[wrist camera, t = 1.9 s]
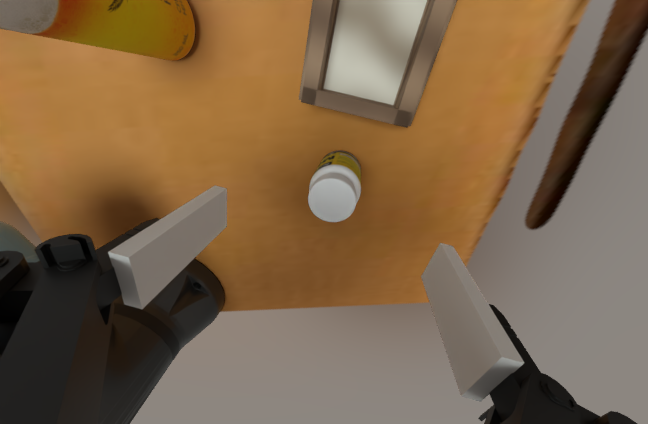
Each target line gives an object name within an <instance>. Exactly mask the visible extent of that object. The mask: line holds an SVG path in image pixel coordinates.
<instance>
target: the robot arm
mask: <svg viewBox="0 0 648 424" xmlns="http://www.w3.org/2000/svg"><path fill="white" fill-rule="evenodd" d="M226 227H227V188H223V187H219V186H213V187H212V188H210V189H208V190H207V191H205V192H204V193H202V194H200V195H199V196H197V197H196V198H194V199H192V200H191V201H189V202H187V203H186V204H184V205H183V206H181V207H179V208H178V209H176V210H175V211H173V212H171V213H170V214H168V215H167V216H165V217H163V218H162V219H158V218H155V219H152V220H149V221H146V222H143V223H141V224H140V225H138V226H136V227H135V228H133V230H132V229H131V230H129V231H128V232H126V233H125V234H124V235H121V236H119V237H118V238H116V239H114V240H112V241H111V242H109V243H107V244H106V245H104V246H102V247H100V248H99V249H97V250H95V248H94V245H93V242H92V239H91V238H90V237H88V236H87V235H82V234H69V235H63V236H58V237H55V238H52V239H49V240H47V241H45V242H43V243H41V244H39V245H38V246H37V247H35V246H34V245H33V244H32V243H31V242H30V241H29V240H28V239H27V238H26V237H25V236H23V235H22V234H21V233H20V232H19V231H18V230H17V229H16V228H14V227H13V226H11V225H9V224H7V223H4V222H1V221H0V424H130V423H131V421H132V420H133V418H134V417H135V415H136V414H137V412H138V411H139V409H140V408H141V406H142V405H143V404H144V402H145V401H146V399H147V398H148V396H149V395H150V393H151V392H152V390H153V389H154V387H155V386H156V384H157V383H158V382H159V380H160V379H161V377H162V376H163V374H164V373H165V371H166V370H167V368H168V367H169V365H170V364H171V362H172V361H173V360H174V358H175V356H176V355H177V354H178V352H179V351H180V350H181V349H182V347H184V346H185V345H186V344H187V343H188V342H189V341H191V340H192V339H193V338H194V337H195V336H196V335H198V334H199V333H200V332H201V331H202V330H203V329H205V328H206V327H207V326H208V325H209V324H211V323H212V322H213V321H214V319H215V318H216V317H217V315H218V314H219V312H220V310H221V309H222V307H223V305H224V299H225V298H224V292H223V289H222V286H221V285H220V283H219V281H218V280H217V278H216V277H215V276H214V275H213V274H212V273H211V272H210V271H209V270H208V269H207V268H206V267H205V266H204V265H202V264H201V263H199V262H198V261H196V260H194V258H195V257H196V256H197V255H198V254H199V253H200V252H201V251H202V250H203V249H204V248H205V247H206V246H207V245H208V244H209V243H210V242H211V241H212V240H213V239H214V238H215V237H216V236H217V235H218V234H219V233H220V232H221V231H222V230H223V229H225V228H226ZM421 278H422V281H423V284H424V287H425V290H426V293H427V296H428V299H429V302H430V304H431V308H432V310H433V314H434V317H435V319H436V322H437V326H438V328H439V331H440V334H441V338H442V340H443V344H444V346H445V349H446V352H447V355H448V358H449V361H450V364H451V367H452V370H453V373H454V376H455V379H456V382H457V385H458V388H459V391H460V394H461V396H462V397H466V398H469V399H473V400H476V401H482V400H483V399H484V398H485V397H486V396H488V395H489V394H490V396H491V398H492V401H493V403H494V405H493V406H492V407H491V408H490V409H488V410H487V411H486V412H484V413H483V414H482V415H481V416H480V417H479V419H480V420H481V421H483V420H484V419H485V418H486V420H485V423H484V424H637V423H636V422H634V421H633V420H631V419H630V418H628V417H627V416H624V415H622V414H620V413H618V412H612V411H610V412H608V413H607V414H605V415H603V416H602V417H600V416H598V415H596V414H594V413H593V412H591V411H589V410H587V409H585V408H583V407H581V406H580V405H578V404H577V403H576V402H575V400H574V398H573V397H572V396H571V395H570V394H569V393H568V391H567V390H566V389H565V388H564V387H563V386H562V385H560V384H559V383H558V382H557V381H556V380H554V379H552V378H551V377H549V376H548V375H546V374H543V373H541V372H540V371H539V369H538V368H537V366H536V364H535V363H534V362H533V360H532V358H531V357H530V355H529V354H528V352H527V351H526V349H525V348H524V346H523V344H522V343H521V341H520V340H519V339H518V338H517V335H516V334H515V332H514V331H513V329H511V326H510V325H509V323H508V321H507V320H506V318H505V317H504V315H502V313H501V312H500V311H499V310H498V309H497V308H496V307H495V306H494V305H490V304H488V303H487V301H486V299H485V298H484V296H483V295H482V293H481V291H480V290H479V288H478V287H477V285H476V283H475V281H474V280H473V278H472V276H471V275H470V273H469V272H468V270H467V268H466V267H465V265H464V263H463V262H462V260H461V258H460V257H459V255H458V254H457V252H456V250H455V249H454V247H453V246H450V245H446V244H443V243H440V244H439V246H438V248H437V249H436V251H435V253H434V255H433V256H432V258H431V260H430V262H429V264H428V265H427V267H426V269H425V271H424V273H423V274H422V276H421Z"/></svg>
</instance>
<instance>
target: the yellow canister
mask: <svg viewBox="0 0 648 424" xmlns="http://www.w3.org/2000/svg"><path fill="white" fill-rule="evenodd" d="M0 28H1V29H6V30H11V31H16V32H22V33H27V34H32V35H38V36H43V37H48V38H54V39H59V40H64V41H70V42H75V43H80V44H86V45H91V46H96V47H102V48H107V49H112V50H118V51H123V52H128V53H134V54H139V55H144V56H150V57H155V58H160V59H166V60H179V59H181V58H183V57H185V56H186V55H187V54H188V53H189V51H190V50H191V48H192V46H193V42H194V38H195V23H194V18H193V14H192V11H191V8H190V6H189V4H188V2H187V0H0Z"/></svg>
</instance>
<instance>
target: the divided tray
mask: <svg viewBox="0 0 648 424" xmlns="http://www.w3.org/2000/svg"><path fill="white" fill-rule="evenodd" d="M456 2H457V0H313V2H312V9H311V17H310V24H309V31H308V38H307V45H306V52H305V59H304V66H303V73H302V80H301V87H300V94H299V100H301V102H303V103H307V104H311V105H316V106H320V107H324V108H328V109H332V110H336V111H340V112H345V113H349V114H353V115H357V116H361V117H365V118H369V119H374V120H378V121H382V122H386V123H390V124H394V125H398V126H403V127H408V126H411V123H412V121H413V118H414V115H415V113H416V110H417V107H418V104H419V102H420V99H421V96H422V94H423V91H424V88H425V86H426V83H427V80H428V77H429V75H430V72H431V69H432V67H433V64H434V61H435V59H436V56H437V53H438V50H439V48H440V45H441V42H442V40H443V37H444V34H445V32H446V29H447V26H448V23H449V21H450V18H451V15H452V13H453V10H454V7H455V5H456Z"/></svg>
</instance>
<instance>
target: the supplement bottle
mask: <svg viewBox="0 0 648 424" xmlns="http://www.w3.org/2000/svg"><path fill="white" fill-rule="evenodd" d="M360 194H361V168H360V164H359V162H358V160H357V159H356V158H355V157H354V156H353V155H352V154H350V153H348V152H346V151H334V152H331V153H329V154H327V155H326V156H325V157H324V158H323V159H322V161H321V163H320V164H319V166H318V168H317V170H316V172H315V173H314V175H313V176H312V179H311V181H310V186H309V195H308V203H309V207H310V209H311V211H312V212H313V213H314V214H315V215H316V216H317V217H318V218H320V219H322V220H324V221H327V222H339V221H342V220H345V219H346V218H348V217H349V216H350V215H351V214H352V213H353V211H354V209H355V206H356V203H357V202H358V200H359V198H360Z"/></svg>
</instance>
